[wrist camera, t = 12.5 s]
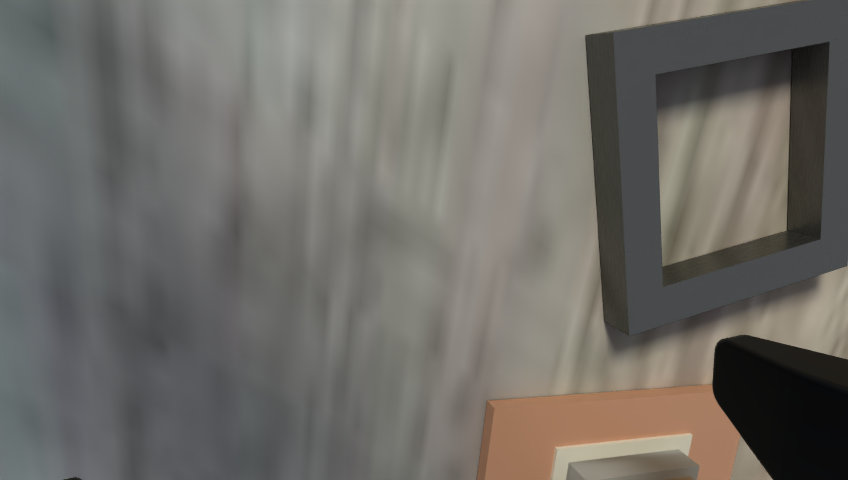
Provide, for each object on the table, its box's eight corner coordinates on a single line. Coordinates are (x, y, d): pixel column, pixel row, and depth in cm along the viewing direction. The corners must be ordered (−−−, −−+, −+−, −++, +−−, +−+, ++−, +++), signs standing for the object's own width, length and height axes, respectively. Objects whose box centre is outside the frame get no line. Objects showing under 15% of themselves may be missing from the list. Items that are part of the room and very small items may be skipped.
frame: (604, 321, 24) (629, 336, 22) (585, 35, 21) (613, 32, 19) (813, 256, 26) (847, 265, 25) (824, -4, 23) (863, -9, 22)
